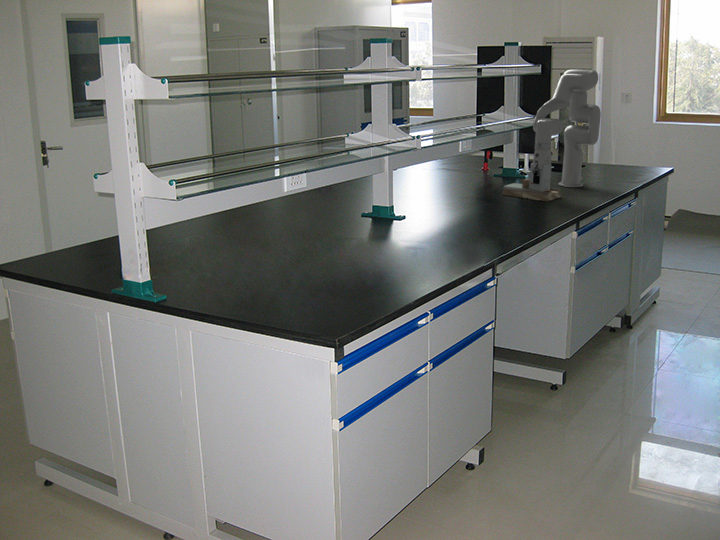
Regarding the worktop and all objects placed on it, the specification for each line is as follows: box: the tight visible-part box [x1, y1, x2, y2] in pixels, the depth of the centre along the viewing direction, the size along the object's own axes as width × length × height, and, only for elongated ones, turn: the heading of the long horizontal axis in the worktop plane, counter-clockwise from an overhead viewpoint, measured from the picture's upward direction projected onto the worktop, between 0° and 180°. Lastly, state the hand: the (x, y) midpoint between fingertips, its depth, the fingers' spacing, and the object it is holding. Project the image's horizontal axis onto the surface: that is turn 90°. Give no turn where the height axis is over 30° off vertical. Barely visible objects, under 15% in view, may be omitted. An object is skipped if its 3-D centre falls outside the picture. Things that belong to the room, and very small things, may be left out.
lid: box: [503, 177, 530, 190], centre depth 376 cm, size 10×12×5 cm
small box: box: [529, 162, 553, 192], centre depth 368 cm, size 8×6×13 cm
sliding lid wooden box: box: [502, 183, 562, 202], centre depth 372 cm, size 14×24×4 cm, turn 49°
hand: (539, 182), depth 368 cm, fingers closed on small box, 6 cm apart
